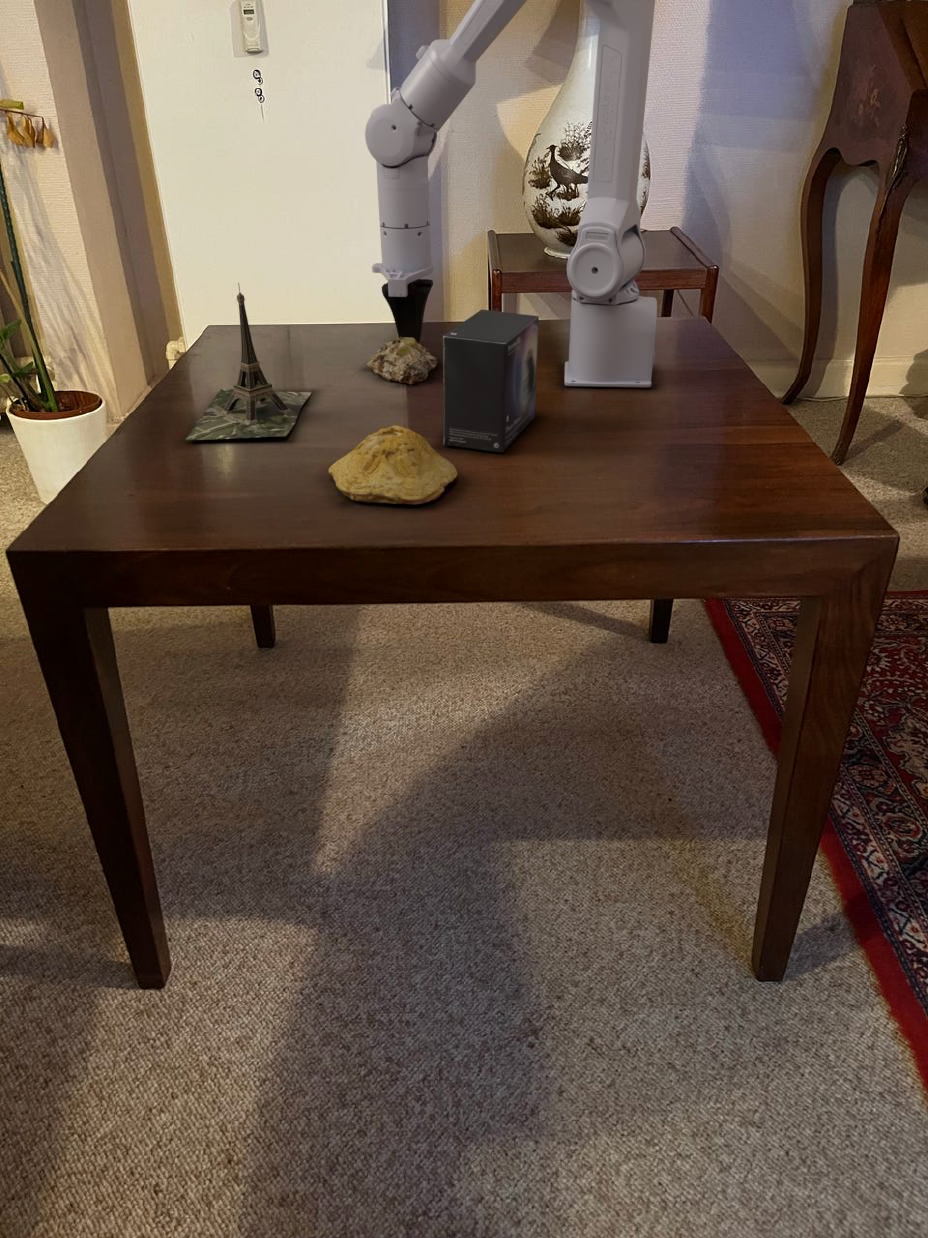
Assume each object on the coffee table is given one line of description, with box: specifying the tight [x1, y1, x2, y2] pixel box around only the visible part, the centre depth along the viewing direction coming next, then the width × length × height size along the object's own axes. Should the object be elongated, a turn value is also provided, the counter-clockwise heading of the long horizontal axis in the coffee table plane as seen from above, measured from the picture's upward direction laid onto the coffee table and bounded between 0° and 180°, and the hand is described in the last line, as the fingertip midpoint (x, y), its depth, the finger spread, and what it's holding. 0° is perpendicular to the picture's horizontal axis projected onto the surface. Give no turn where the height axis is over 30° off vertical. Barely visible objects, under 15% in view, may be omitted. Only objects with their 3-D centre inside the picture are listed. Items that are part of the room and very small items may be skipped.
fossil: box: [328, 424, 458, 506], centre depth 80 cm, size 11×6×10 cm
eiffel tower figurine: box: [185, 282, 313, 441], centre depth 93 cm, size 15×10×13 cm
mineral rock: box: [366, 336, 439, 386], centre depth 108 cm, size 11×4×8 cm
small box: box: [442, 309, 540, 454], centre depth 89 cm, size 11×6×10 cm, turn 160°
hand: (410, 344), depth 113 cm, fingers closed
